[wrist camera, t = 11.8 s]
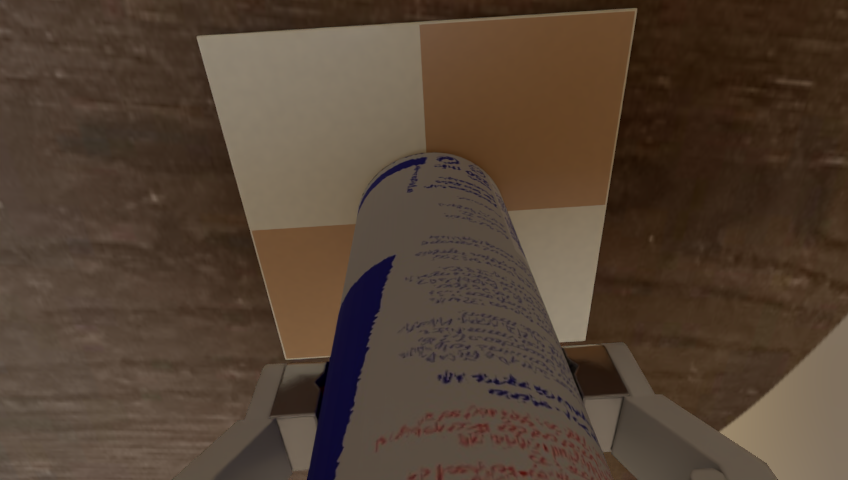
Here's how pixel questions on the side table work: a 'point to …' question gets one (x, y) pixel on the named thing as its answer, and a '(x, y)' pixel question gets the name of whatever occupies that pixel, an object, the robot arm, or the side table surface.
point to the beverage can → (446, 343)
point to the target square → (421, 142)
